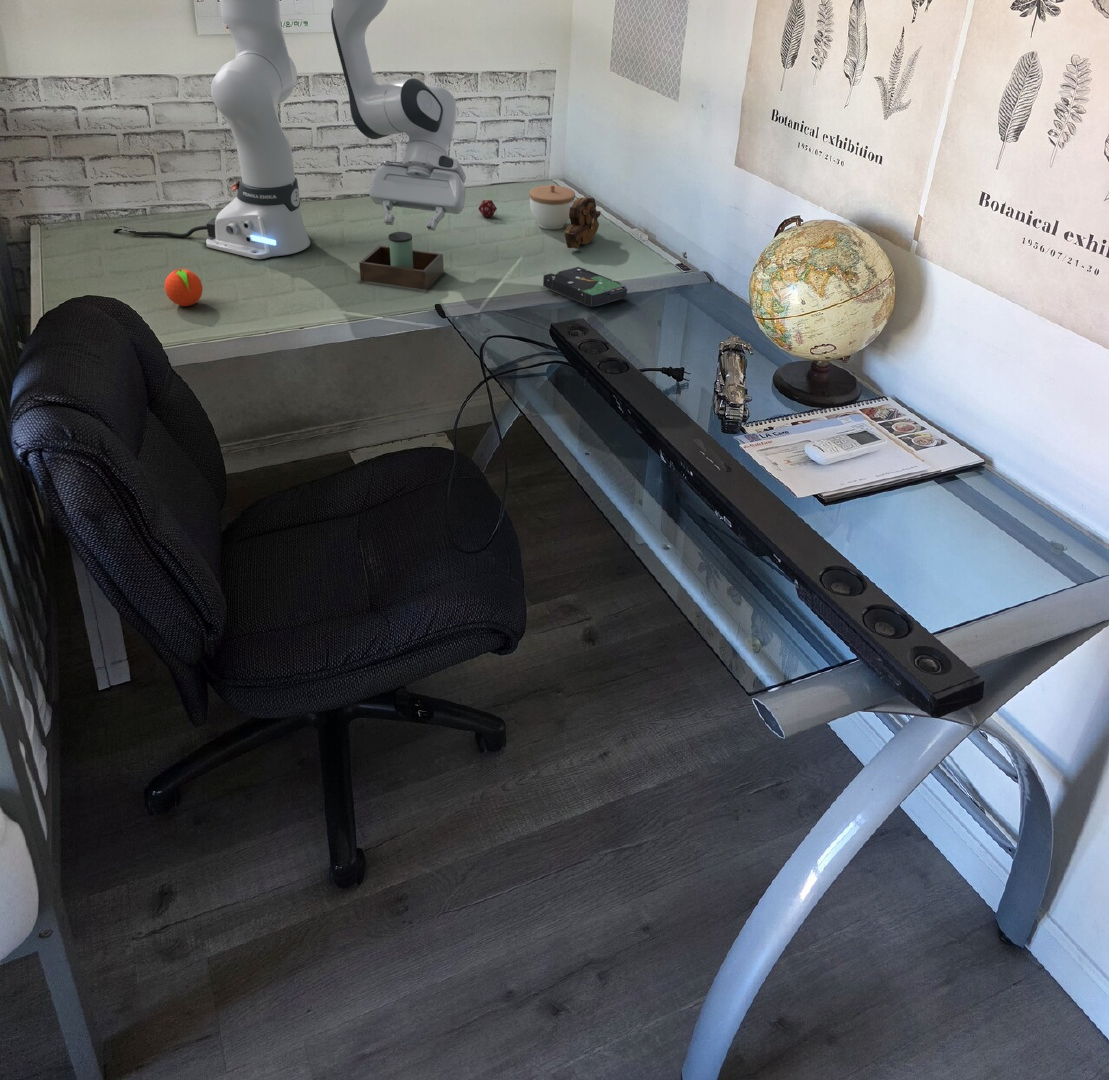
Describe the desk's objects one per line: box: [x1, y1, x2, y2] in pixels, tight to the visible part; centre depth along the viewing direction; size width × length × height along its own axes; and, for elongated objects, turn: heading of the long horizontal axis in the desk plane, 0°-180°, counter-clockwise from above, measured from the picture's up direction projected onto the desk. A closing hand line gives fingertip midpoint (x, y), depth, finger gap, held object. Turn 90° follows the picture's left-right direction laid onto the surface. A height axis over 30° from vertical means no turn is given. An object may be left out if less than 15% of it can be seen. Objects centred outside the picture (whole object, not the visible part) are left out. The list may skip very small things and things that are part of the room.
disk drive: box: [542, 266, 628, 308], centre depth 204 cm, size 10×3×15 cm
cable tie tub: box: [388, 231, 413, 269], centre depth 206 cm, size 5×5×8 cm
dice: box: [477, 199, 498, 218], centre depth 239 cm, size 4×4×4 cm
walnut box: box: [358, 244, 444, 291], centre depth 207 cm, size 14×10×4 cm
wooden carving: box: [563, 196, 602, 249], centre depth 225 cm, size 16×5×10 cm, turn 161°
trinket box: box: [529, 184, 576, 230], centre depth 234 cm, size 11×11×9 cm
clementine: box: [164, 268, 203, 307], centre depth 192 cm, size 8×7×7 cm
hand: (409, 226), depth 207 cm, fingers open, 8 cm apart
